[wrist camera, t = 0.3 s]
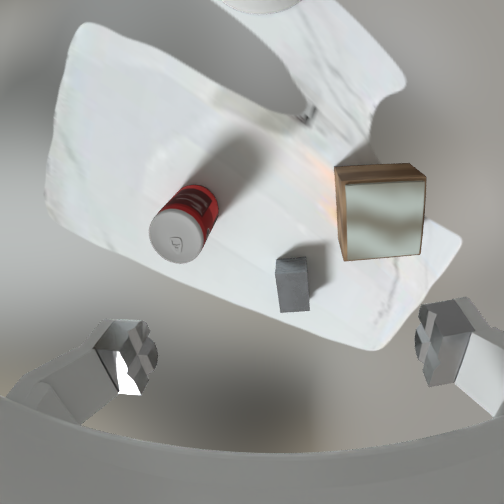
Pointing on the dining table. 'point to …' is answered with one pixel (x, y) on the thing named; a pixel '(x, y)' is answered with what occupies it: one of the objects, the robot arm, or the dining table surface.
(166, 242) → the canned food
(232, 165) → the dining table surface
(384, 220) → the stand
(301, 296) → the block
